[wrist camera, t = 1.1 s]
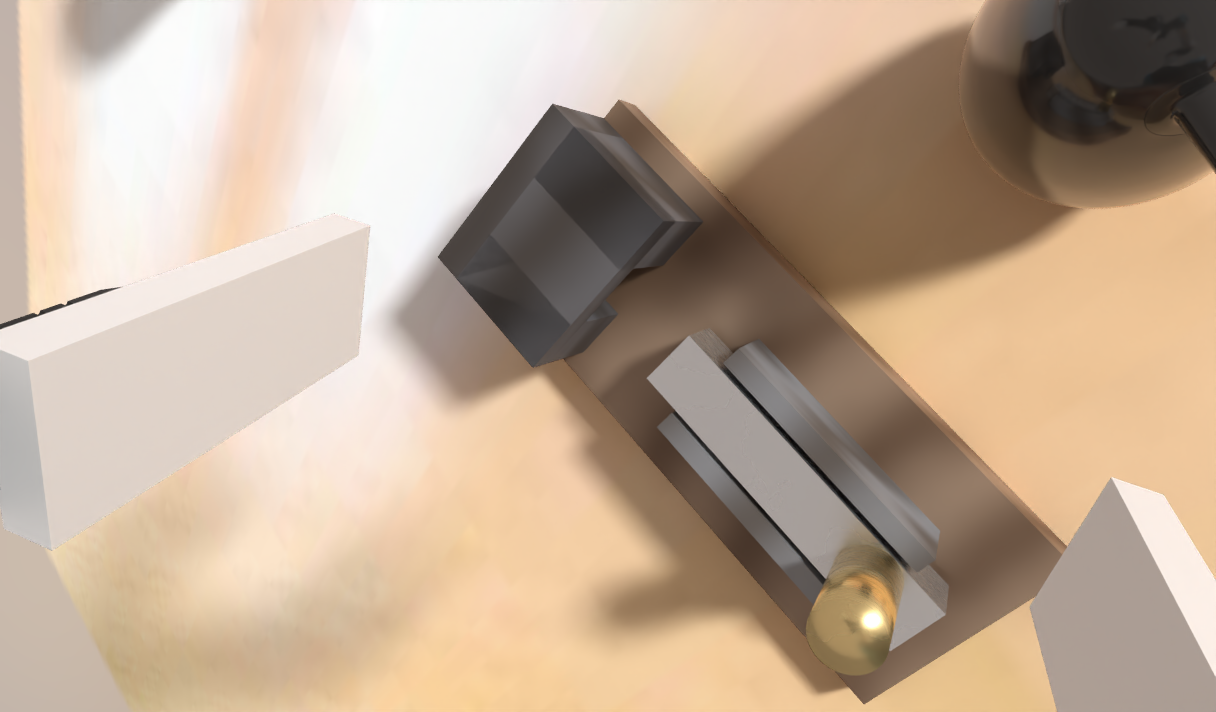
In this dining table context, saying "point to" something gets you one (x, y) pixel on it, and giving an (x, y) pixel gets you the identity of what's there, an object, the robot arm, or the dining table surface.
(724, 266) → the lock frame
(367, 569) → the dining table surface
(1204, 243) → the dining table surface
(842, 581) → the bolt
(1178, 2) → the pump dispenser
